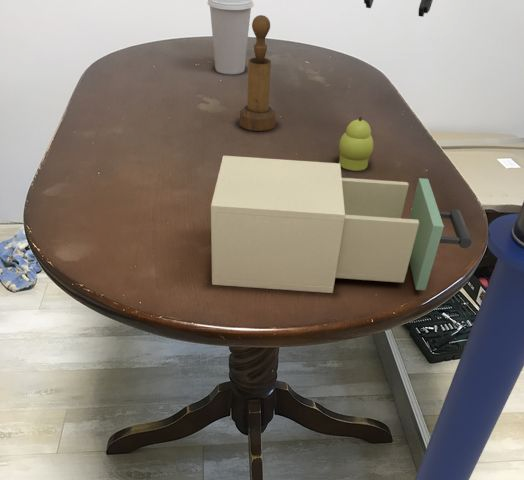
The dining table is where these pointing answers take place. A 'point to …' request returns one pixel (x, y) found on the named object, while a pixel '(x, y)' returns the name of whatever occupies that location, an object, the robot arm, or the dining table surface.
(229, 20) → the coffee cup
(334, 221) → the cabinet
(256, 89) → the mortar and pestle
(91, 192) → the dining table surface
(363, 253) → the drawer
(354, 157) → the pear
